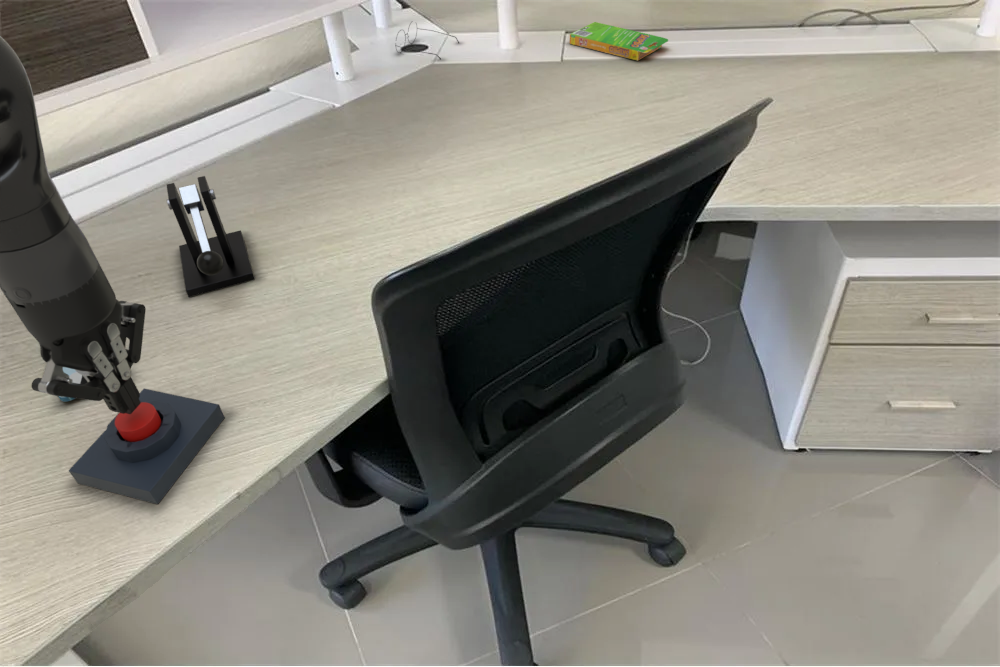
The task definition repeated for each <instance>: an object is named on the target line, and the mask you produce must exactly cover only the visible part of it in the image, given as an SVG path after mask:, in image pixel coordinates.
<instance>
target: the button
mask: <svg viewBox="0 0 1000 667" xmlns="http://www.w3.org/2000/svg"><path fill="white" fill-rule="evenodd" d="M117 414H118V413H117ZM117 414H116V416H117V417H116V416H115V417H116V419H115V426H116V428H117V430H118V431H119V433H120V434H121V436H122V438H123V439H124V440H126V441H129V442H136V441H141V440H144V439H146V438H148V437H150V436H151V435H153V434H155V433H156V432H157V430H158V429H159V428H160V426H161V418H160V416H159V415H158V413H157V411H156V409H155V407H154V406H153V405H152V404H150V403H146V402H141V404H140V405H139V406H138V407H137V408H136V409H135V410H134V411H133V412H132V414H126V413H125V414H122V413H119V414H118V415H117Z"/></svg>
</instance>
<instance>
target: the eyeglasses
mask: <svg viewBox="0 0 1000 667" xmlns="http://www.w3.org/2000/svg"><path fill="white" fill-rule="evenodd" d="M411 24H412V22H410V23H409V25H408V29H407V31H410V30H409V29H410V26H411ZM415 24H416V26H418V24H417V23H415ZM416 30H420V28H419V27H416ZM422 30H424V31H427V29H426V28H421V31H422ZM401 31H403V33H404V38H405V39H404V42H406V40H407V41H408V43H409V44H411V45H412V44H413V42H415V41H416V39H417V35H418V32H416V34H415V38H414V40H413V42H410V40H409V38H410V35H407V33H406V32H405V30H404V29H400V30H399V31H398V32H397V34H396V37H395V40H397V39H398V35H399V33H400V32H401ZM429 32H435V33H438V34H441V35H446V36H449V37H453V38H455V39H456V42H457V43H458V44H460V41H459V40H458V38H457V36H455V35H452V34H447V33H443V32H439V31H436V30H432V29H429ZM406 35H407V36H406ZM394 45H395V47H397V48H401V49H402V50H401V51H400V52H399V51H398V49H397V48H395V51H396V53H398V54H401V53H402V52H403V51H404V50H408V51H411V52H415V50H413V49H408V48H406V47H405V46H406V44H404V46H400V45H397V44H394ZM416 52H418V53H421V51H420V50H416ZM422 53H424V54H428V55H434V56H436V57H437V58H438V59H439V60H440V61H441V60H442V58H441V57H440V56H439V55H438V54H437V53H433V52H432V53H431V52H425V51H422Z"/></svg>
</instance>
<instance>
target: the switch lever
mask: <svg viewBox="0 0 1000 667" xmlns="http://www.w3.org/2000/svg"><path fill="white" fill-rule="evenodd" d="M178 191H179V192H178V193H179V196H180V199H181V201H182V204H183V206H184V209H185V211H186V214H187V215H191V219H192V222H193V226H194V229H195V232H196V237H197V241H199V243H200V247H201V250H202V253H201V254H200V255H199V257H198V259H197V266H198V269H199V270H200V271H201V272H202V273H204V274H206V275H215V274H218V273H219V272H220V271H221V270H222V268H223V259H222V257H221V256H220V255H219V254H218V253H217V252H214V251H211V247H210V244H209V240H208V238H209V237H208V234H207V230H206V227H205V224H204V223H205V222H204V219H203V216H202V212H203V211H205V205H204V202H203V199H202V195H201V193H200V190H199V189H198V186H197V184H196V183H194V184H189V185H185V186H180V187H178Z"/></svg>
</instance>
